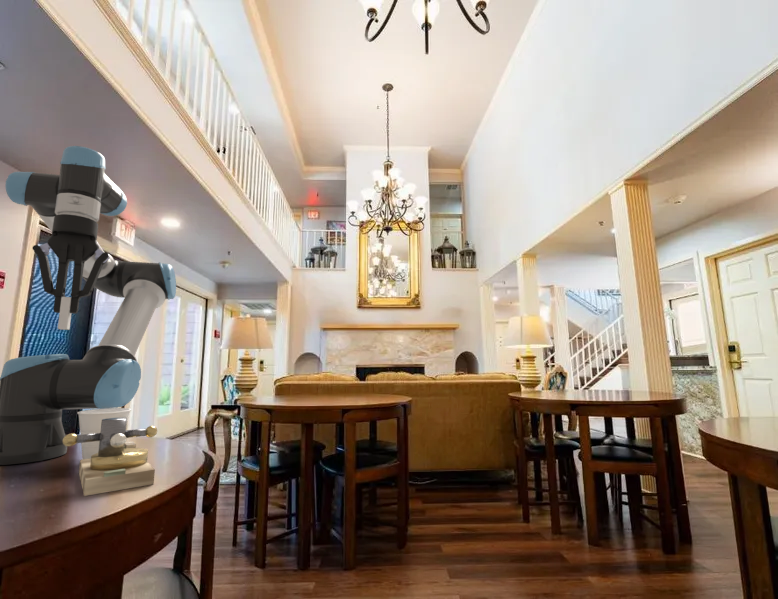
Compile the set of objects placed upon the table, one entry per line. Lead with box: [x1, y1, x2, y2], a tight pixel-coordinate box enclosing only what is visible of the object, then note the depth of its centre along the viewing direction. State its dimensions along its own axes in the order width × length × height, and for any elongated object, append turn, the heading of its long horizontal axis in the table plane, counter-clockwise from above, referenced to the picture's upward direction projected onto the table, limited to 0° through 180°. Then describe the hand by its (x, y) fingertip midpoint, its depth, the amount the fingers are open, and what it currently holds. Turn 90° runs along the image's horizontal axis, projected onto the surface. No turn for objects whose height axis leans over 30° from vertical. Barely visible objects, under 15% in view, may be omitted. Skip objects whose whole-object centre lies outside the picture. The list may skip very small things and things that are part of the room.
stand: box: [78, 441, 156, 497], centre depth 76 cm, size 18×10×5 cm, turn 40°
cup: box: [76, 407, 132, 459], centre depth 89 cm, size 10×10×11 cm
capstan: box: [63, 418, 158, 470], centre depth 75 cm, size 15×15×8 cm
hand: (63, 329), depth 82 cm, fingers closed
